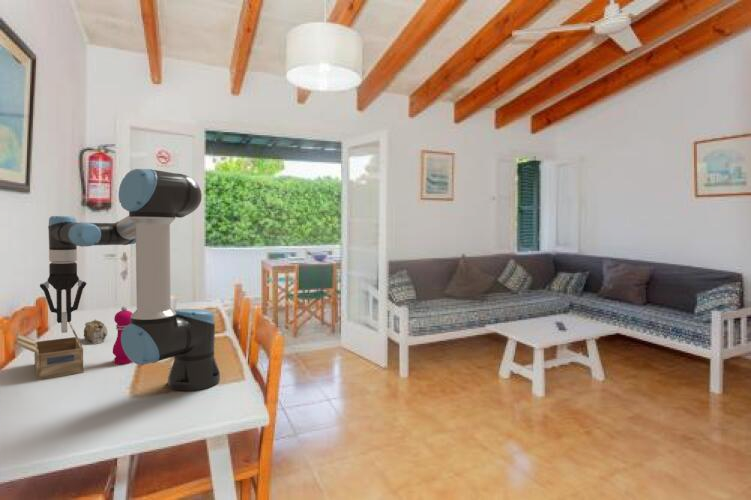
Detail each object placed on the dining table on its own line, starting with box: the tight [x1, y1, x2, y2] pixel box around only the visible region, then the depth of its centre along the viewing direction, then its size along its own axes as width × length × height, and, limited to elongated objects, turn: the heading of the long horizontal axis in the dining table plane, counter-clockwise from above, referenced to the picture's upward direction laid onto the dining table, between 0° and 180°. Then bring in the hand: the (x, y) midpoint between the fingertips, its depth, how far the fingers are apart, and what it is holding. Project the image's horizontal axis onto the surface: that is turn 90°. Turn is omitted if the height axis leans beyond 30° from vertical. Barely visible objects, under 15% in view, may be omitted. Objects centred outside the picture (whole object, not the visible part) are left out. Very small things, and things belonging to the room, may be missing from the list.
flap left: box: [16, 332, 37, 354], centre depth 139 cm, size 16×6×1 cm
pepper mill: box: [112, 305, 134, 366], centre depth 153 cm, size 7×7×20 cm
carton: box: [34, 336, 84, 381], centre depth 145 cm, size 19×12×8 cm, turn 40°
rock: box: [83, 319, 108, 345], centre depth 180 cm, size 12×7×10 cm, turn 47°
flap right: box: [67, 322, 83, 347], centre depth 147 cm, size 16×6×1 cm
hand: (64, 331), depth 145 cm, fingers closed
